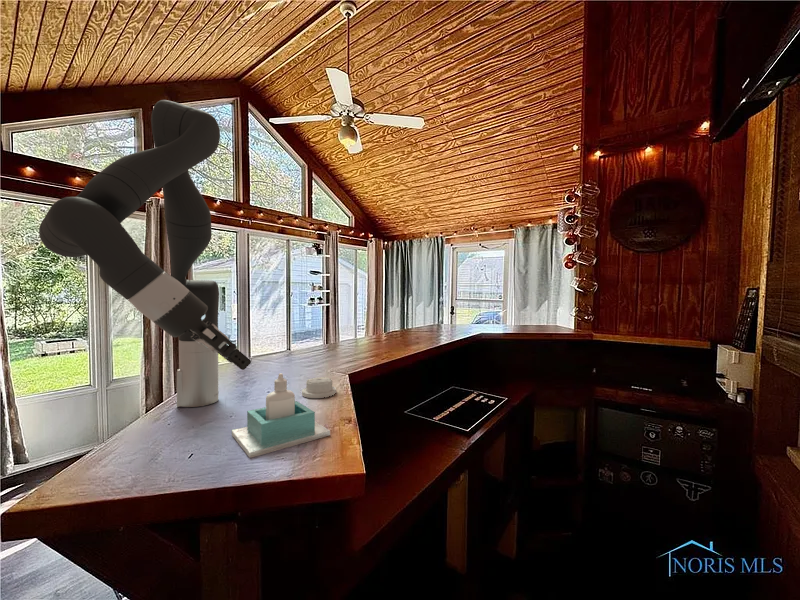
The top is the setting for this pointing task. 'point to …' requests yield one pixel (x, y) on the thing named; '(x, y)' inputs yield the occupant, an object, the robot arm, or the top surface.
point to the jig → (278, 431)
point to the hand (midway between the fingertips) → (240, 362)
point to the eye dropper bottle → (280, 400)
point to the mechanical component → (318, 388)
